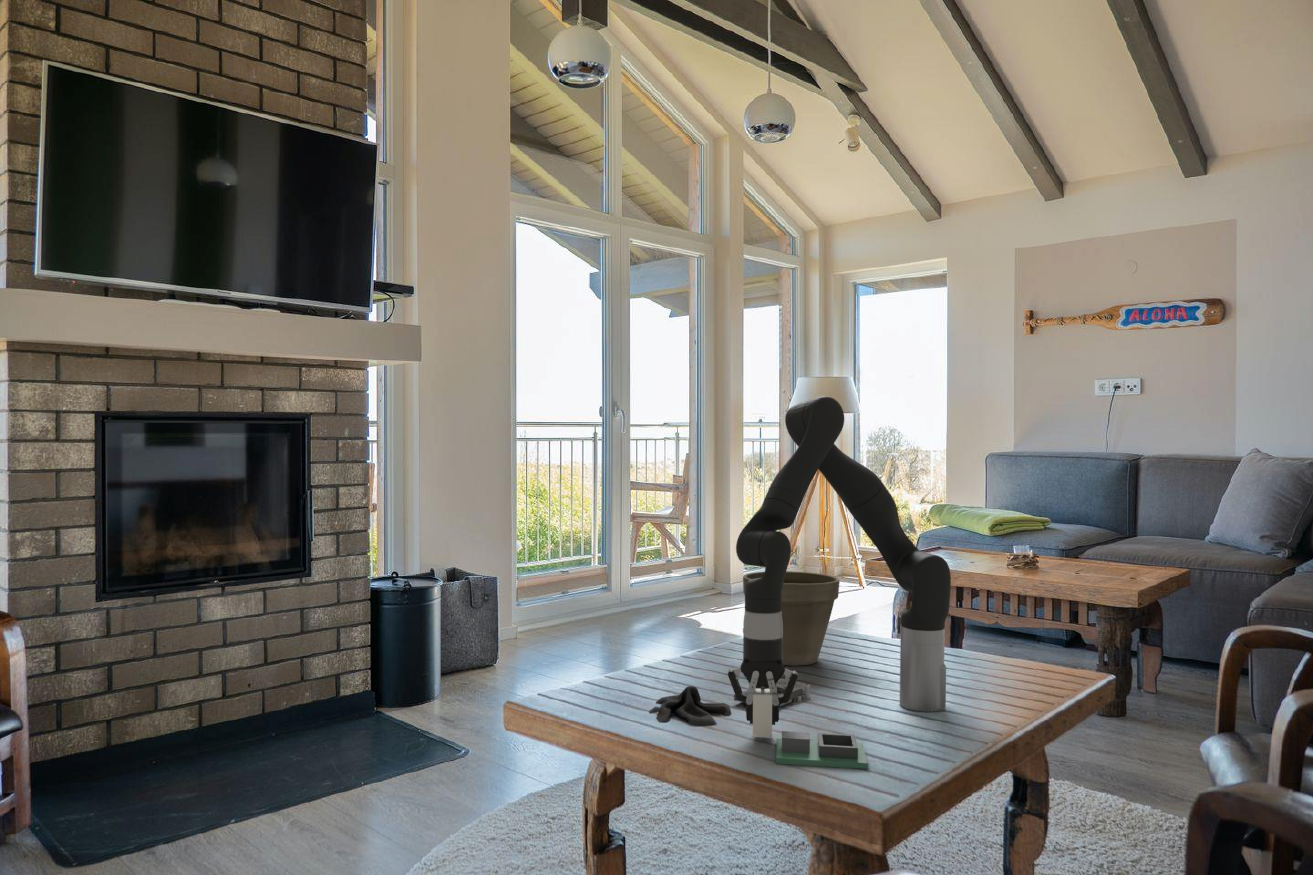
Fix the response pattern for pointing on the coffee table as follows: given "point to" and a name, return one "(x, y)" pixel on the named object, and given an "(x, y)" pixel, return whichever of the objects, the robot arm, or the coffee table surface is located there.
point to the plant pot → (804, 613)
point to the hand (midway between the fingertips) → (762, 722)
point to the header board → (820, 750)
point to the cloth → (689, 708)
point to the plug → (762, 713)
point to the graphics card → (795, 695)
